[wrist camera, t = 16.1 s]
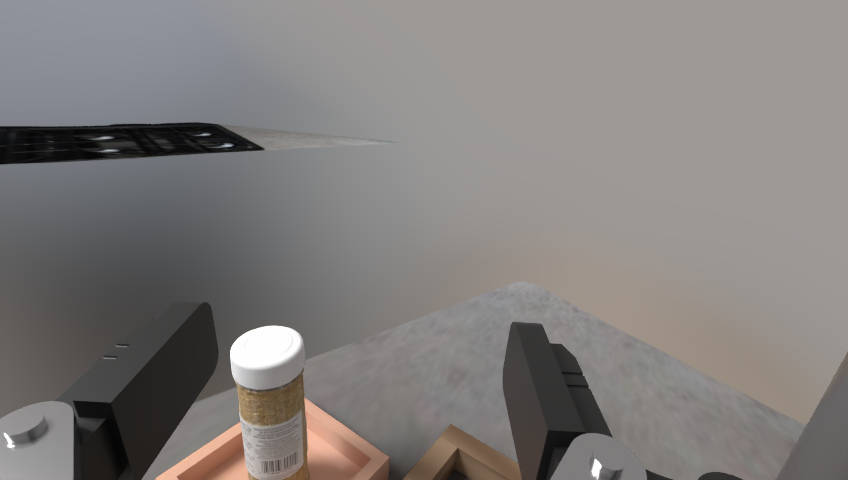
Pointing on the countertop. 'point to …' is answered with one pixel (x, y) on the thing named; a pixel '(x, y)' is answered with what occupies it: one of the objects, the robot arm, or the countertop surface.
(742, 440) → the countertop surface
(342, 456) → the terracotta tray
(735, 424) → the countertop surface
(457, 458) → the walnut rack
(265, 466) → the sprinkles bottle
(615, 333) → the countertop surface
